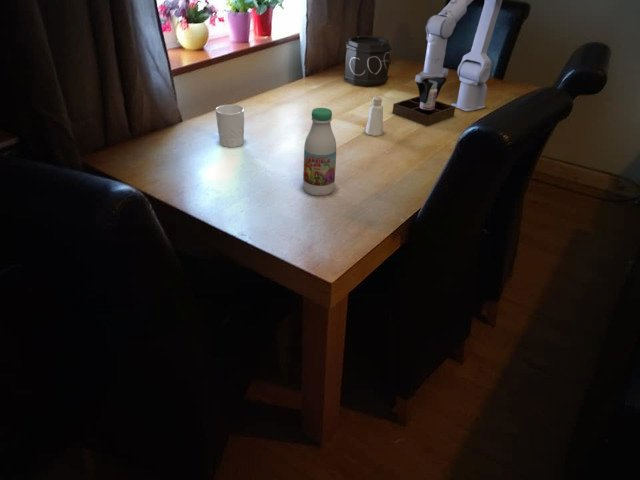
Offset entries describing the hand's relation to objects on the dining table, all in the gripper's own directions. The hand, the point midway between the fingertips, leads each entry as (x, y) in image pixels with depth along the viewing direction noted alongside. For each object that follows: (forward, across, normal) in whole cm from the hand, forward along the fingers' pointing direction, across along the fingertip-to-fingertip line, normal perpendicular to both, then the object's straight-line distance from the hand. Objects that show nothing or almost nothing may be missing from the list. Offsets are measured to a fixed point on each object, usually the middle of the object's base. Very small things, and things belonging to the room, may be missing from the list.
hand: (427, 100), depth 164 cm
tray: (+7, +4, +4) cm, 8 cm away
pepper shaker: (+7, -22, +3) cm, 23 cm away
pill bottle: (+3, 0, 0) cm, 3 cm away
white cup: (+7, -61, +23) cm, 66 cm away
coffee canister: (+7, +16, +42) cm, 46 cm away
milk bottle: (+7, -60, -14) cm, 62 cm away
